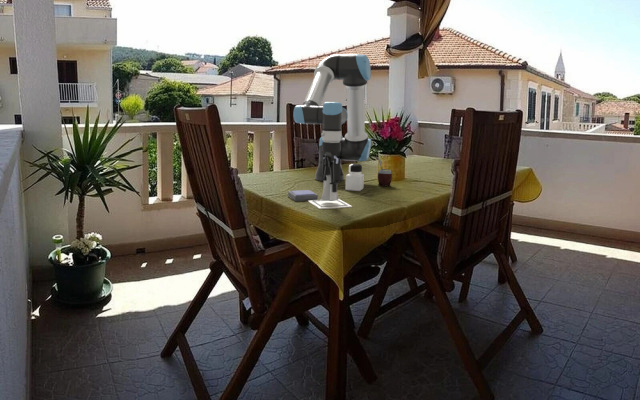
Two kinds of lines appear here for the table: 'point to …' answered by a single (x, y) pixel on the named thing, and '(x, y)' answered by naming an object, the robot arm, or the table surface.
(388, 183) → the mate gourd
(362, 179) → the medicine bottle
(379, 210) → the table surface
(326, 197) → the flask
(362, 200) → the table surface
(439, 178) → the table surface
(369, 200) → the table surface
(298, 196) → the pad
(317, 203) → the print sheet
